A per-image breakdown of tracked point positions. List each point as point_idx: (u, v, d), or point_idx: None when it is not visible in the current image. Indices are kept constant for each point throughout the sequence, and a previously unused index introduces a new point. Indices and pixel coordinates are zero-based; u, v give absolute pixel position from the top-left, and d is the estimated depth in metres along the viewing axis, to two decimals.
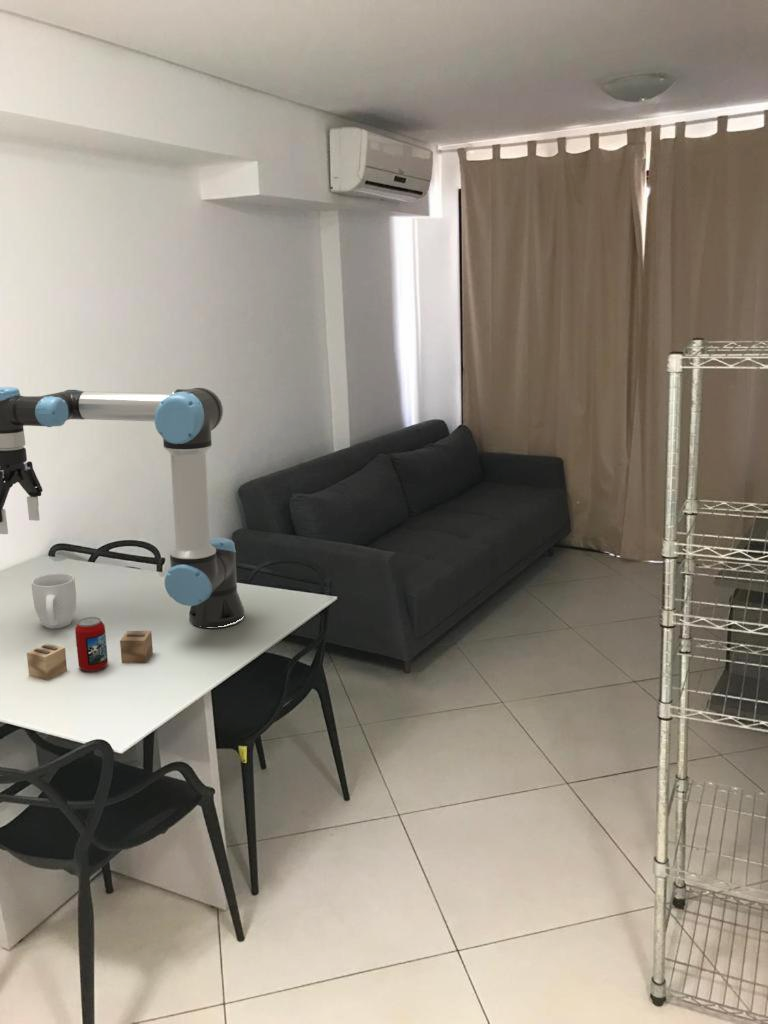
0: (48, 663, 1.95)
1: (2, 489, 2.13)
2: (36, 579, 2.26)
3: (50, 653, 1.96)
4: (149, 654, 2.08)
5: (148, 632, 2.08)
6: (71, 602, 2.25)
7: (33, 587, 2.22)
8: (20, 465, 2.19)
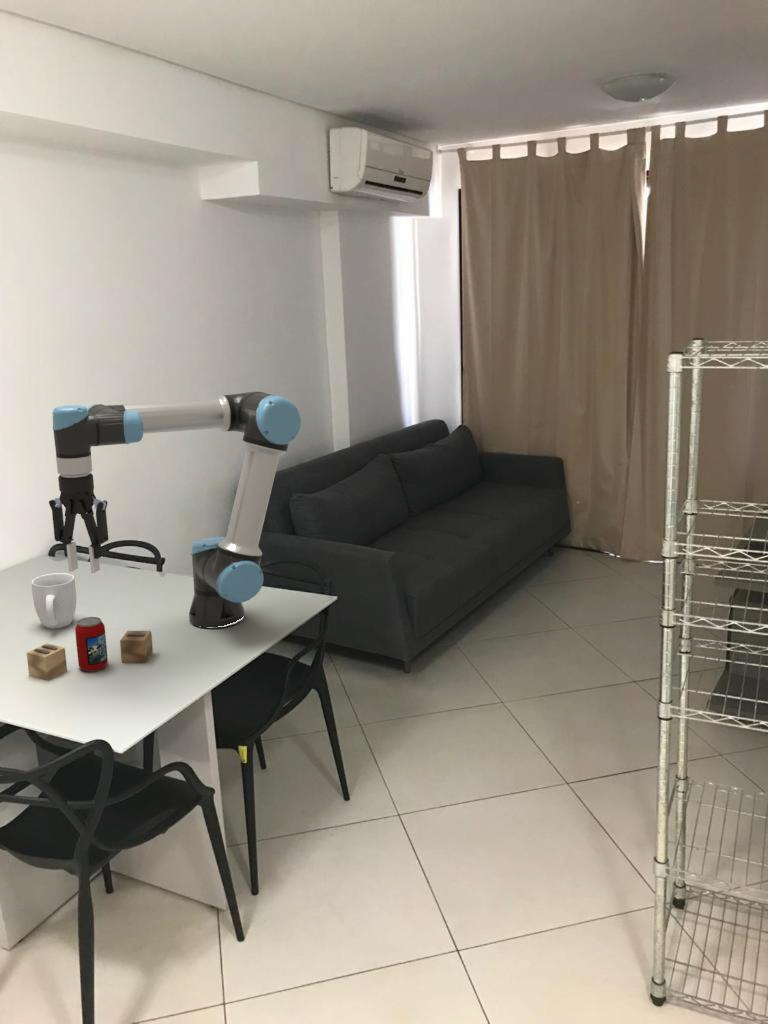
0: (48, 663, 1.95)
1: None
2: (36, 579, 2.26)
3: (50, 653, 1.96)
4: (149, 654, 2.08)
5: (148, 632, 2.08)
6: (71, 602, 2.25)
7: (33, 587, 2.22)
8: (84, 495, 1.90)
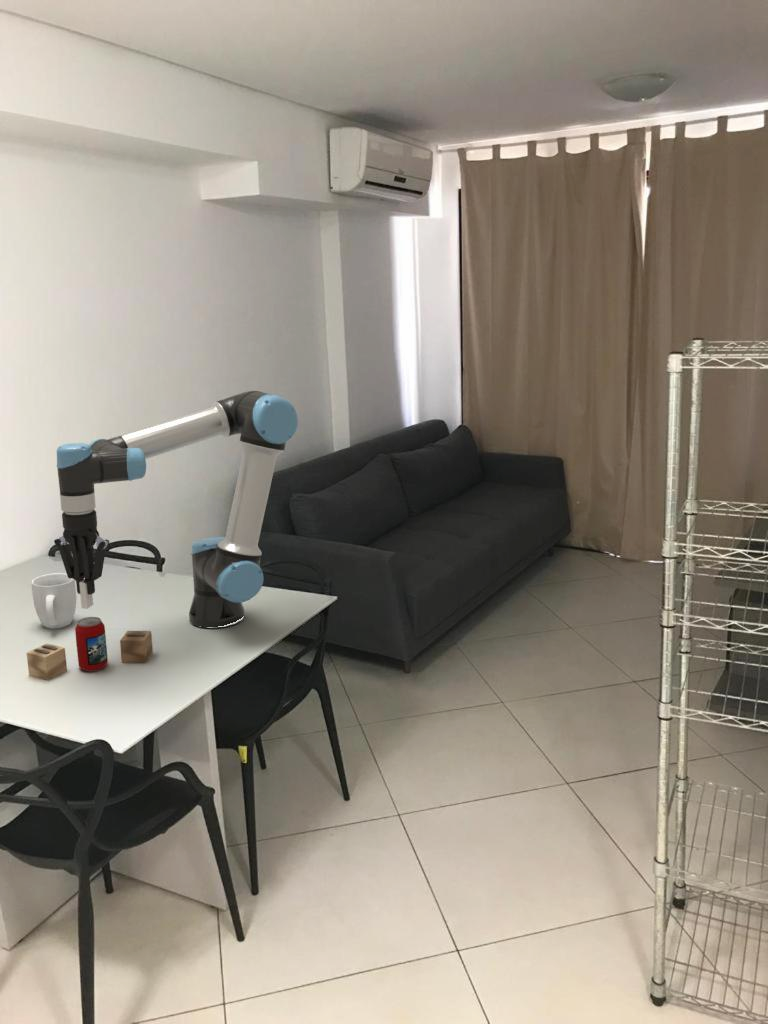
0: (48, 663, 1.95)
1: None
2: (36, 579, 2.26)
3: (50, 653, 1.96)
4: (149, 654, 2.08)
5: (148, 632, 2.08)
6: (71, 602, 2.25)
7: (33, 587, 2.22)
8: (88, 531, 1.92)
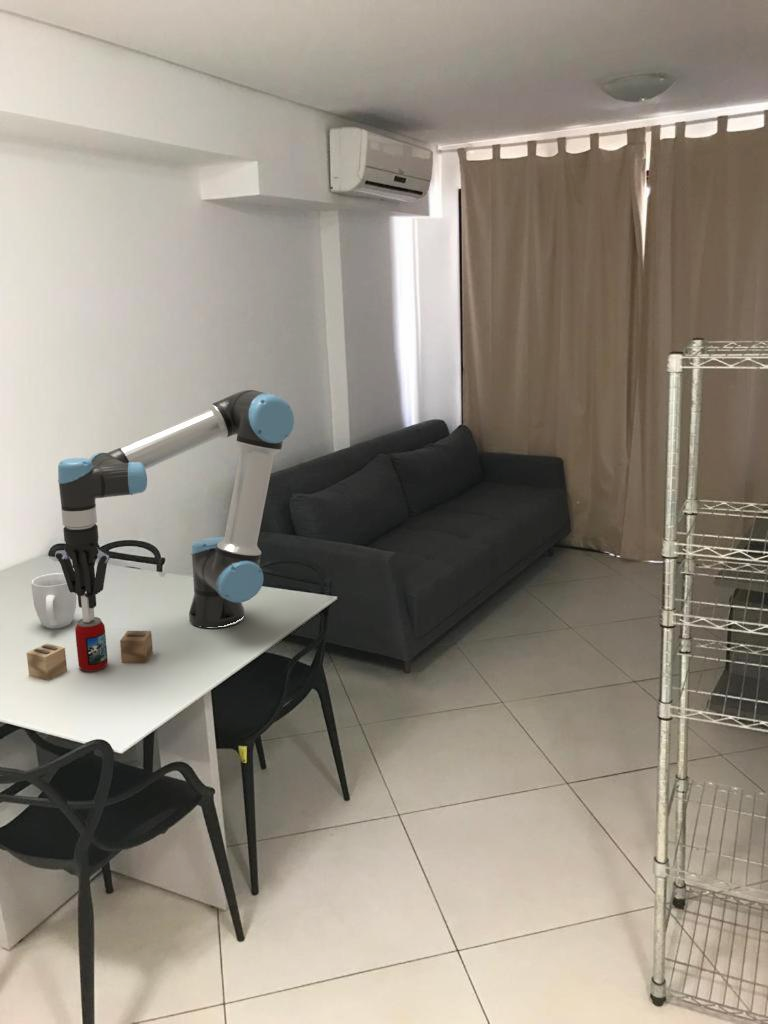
0: (48, 663, 1.95)
1: None
2: (36, 579, 2.26)
3: (50, 653, 1.96)
4: (149, 654, 2.08)
5: (148, 632, 2.08)
6: (71, 602, 2.25)
7: (33, 587, 2.22)
8: (90, 545, 1.93)
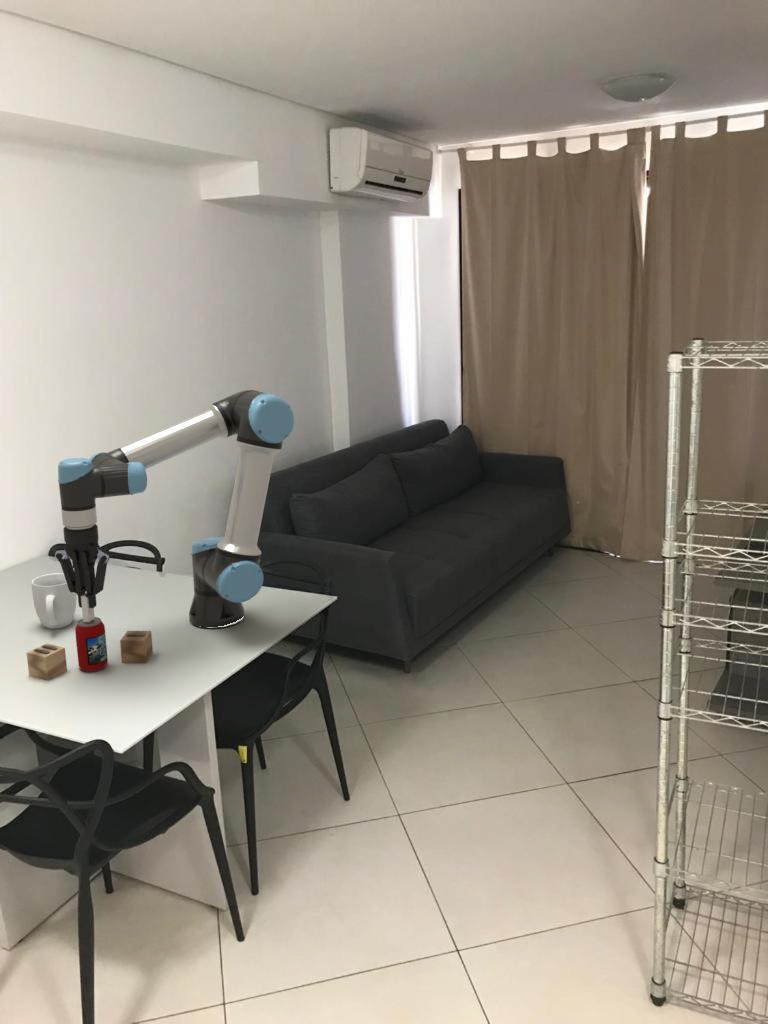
0: (48, 663, 1.95)
1: None
2: (36, 579, 2.26)
3: (50, 653, 1.96)
4: (149, 654, 2.08)
5: (148, 632, 2.08)
6: (71, 602, 2.25)
7: (33, 587, 2.22)
8: (90, 545, 1.93)
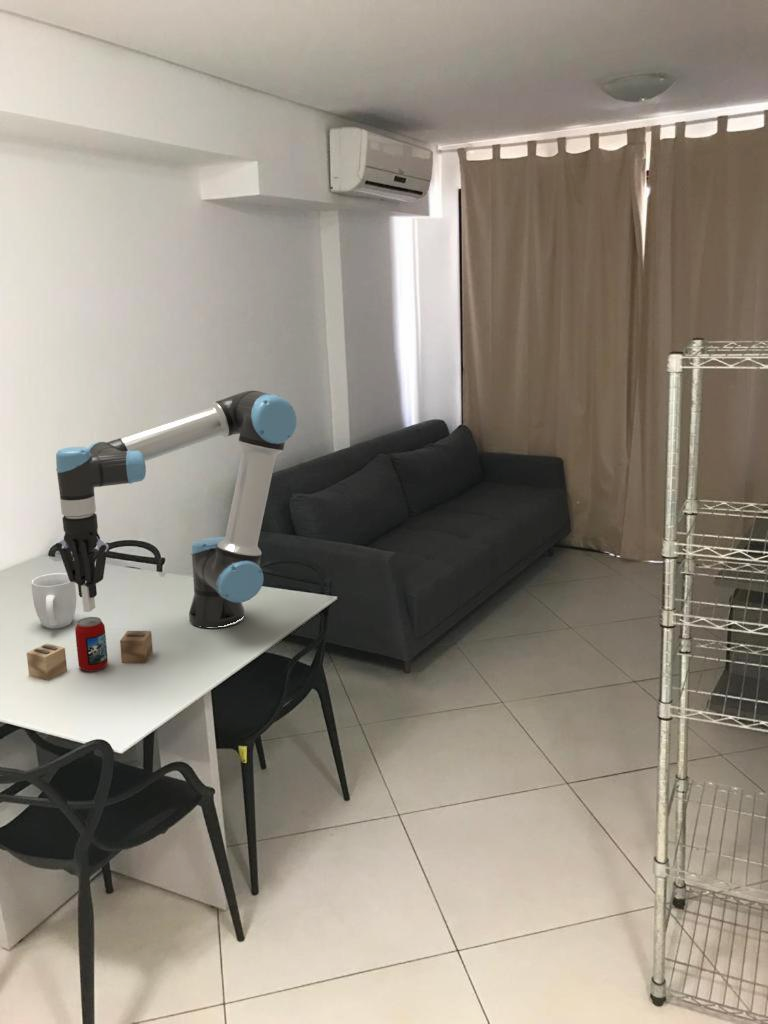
0: (48, 663, 1.95)
1: None
2: (36, 579, 2.26)
3: (50, 653, 1.96)
4: (149, 654, 2.08)
5: (148, 632, 2.08)
6: (71, 602, 2.25)
7: (33, 587, 2.22)
8: (89, 534, 1.92)
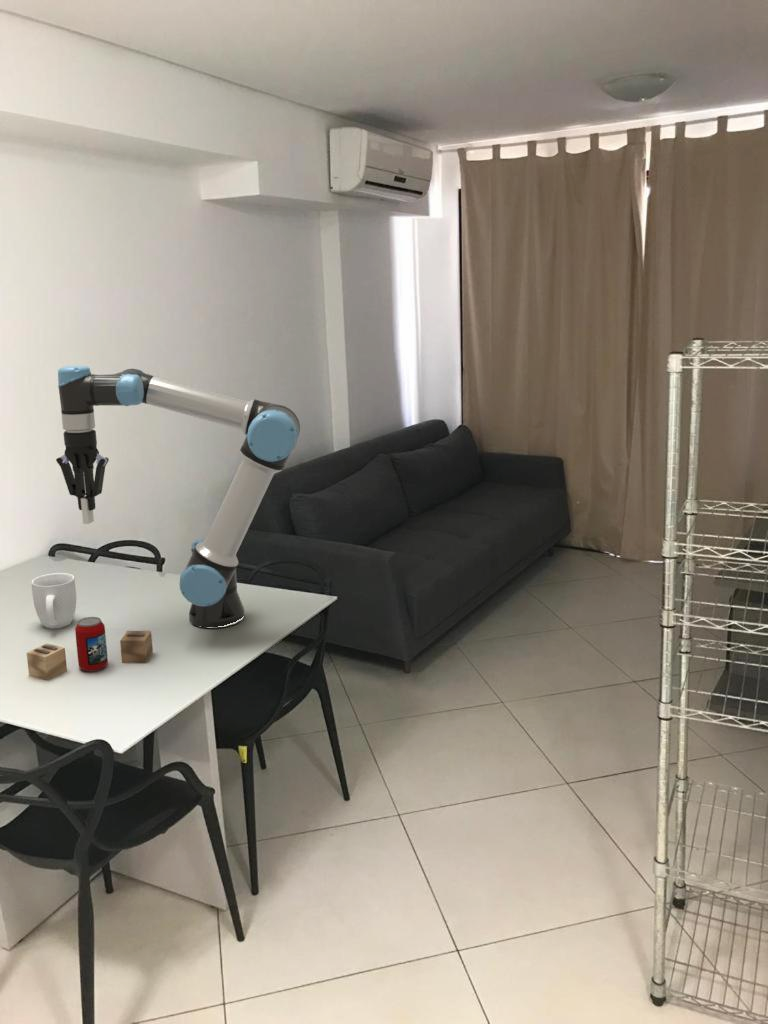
0: (48, 663, 1.95)
1: None
2: (36, 579, 2.26)
3: (50, 653, 1.96)
4: (149, 654, 2.08)
5: (148, 632, 2.08)
6: (71, 602, 2.25)
7: (33, 587, 2.22)
8: (89, 449, 2.04)
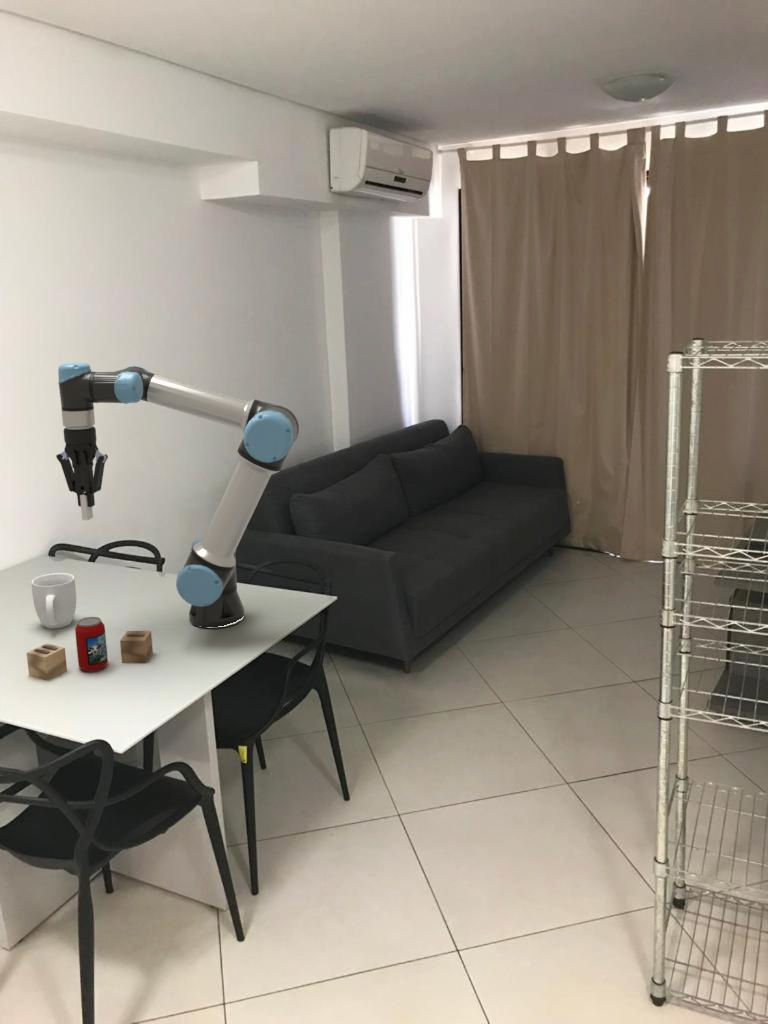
0: (48, 663, 1.95)
1: None
2: (36, 579, 2.26)
3: (50, 653, 1.96)
4: (149, 654, 2.08)
5: (148, 632, 2.08)
6: (71, 602, 2.25)
7: (33, 587, 2.22)
8: (88, 445, 2.06)
